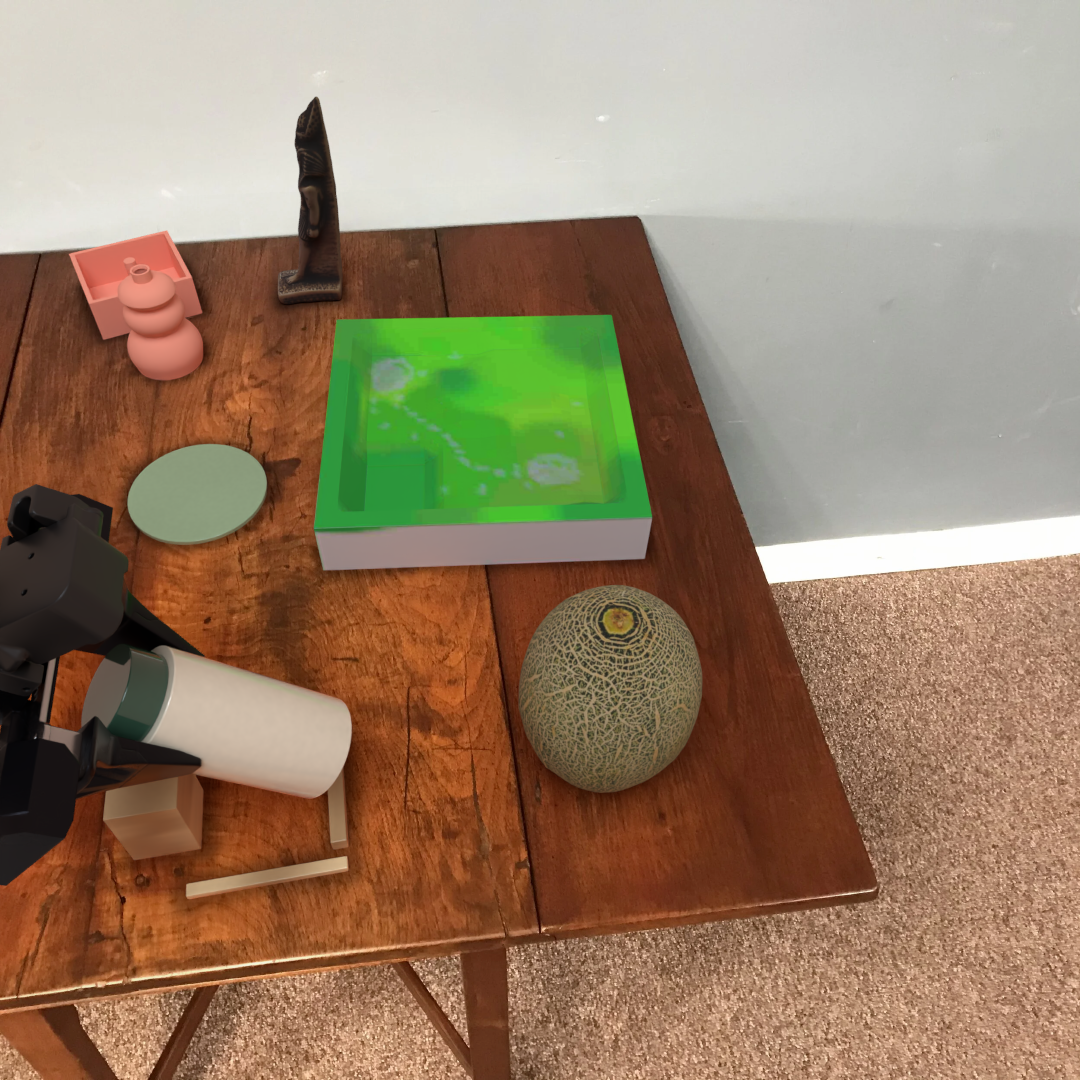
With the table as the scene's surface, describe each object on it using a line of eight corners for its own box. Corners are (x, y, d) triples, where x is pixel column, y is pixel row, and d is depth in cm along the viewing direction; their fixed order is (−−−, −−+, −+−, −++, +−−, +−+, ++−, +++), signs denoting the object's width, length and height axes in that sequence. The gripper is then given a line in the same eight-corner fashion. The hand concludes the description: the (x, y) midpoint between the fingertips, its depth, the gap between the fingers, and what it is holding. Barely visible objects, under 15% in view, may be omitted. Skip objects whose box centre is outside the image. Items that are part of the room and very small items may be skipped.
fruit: (531, 662, 67) (538, 525, 56) (687, 685, 67) (726, 552, 55) (503, 810, 60) (504, 688, 49) (677, 839, 59) (720, 721, 48)
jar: (135, 843, 54) (47, 732, 44) (143, 749, 57) (63, 627, 47) (364, 803, 55) (330, 688, 45) (357, 714, 59) (324, 590, 49)
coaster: (143, 563, 72) (141, 559, 72) (117, 470, 78) (115, 466, 78) (284, 519, 75) (283, 515, 75) (248, 433, 82) (247, 429, 81)
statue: (279, 283, 96) (238, 85, 81) (349, 278, 97) (322, 82, 82) (279, 308, 93) (237, 108, 78) (351, 302, 94) (323, 104, 79)
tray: (606, 358, 90) (611, 314, 86) (644, 559, 74) (652, 517, 70) (343, 363, 88) (336, 319, 84) (323, 571, 72) (313, 528, 68)
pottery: (83, 290, 94) (47, 200, 87) (178, 266, 97) (151, 177, 90) (126, 396, 84) (89, 305, 77) (229, 366, 87) (204, 275, 80)
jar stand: (130, 910, 55) (96, 872, 51) (142, 758, 62) (114, 712, 57) (350, 871, 57) (337, 831, 53) (341, 727, 64) (328, 680, 59)
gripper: (-101, 728, 31) (296, 814, 41) (-4, 365, 42) (286, 502, 53) (-227, 863, 35) (157, 910, 46) (-108, 503, 47) (176, 604, 57)
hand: (199, 713), depth 50 cm, fingers closed on jar, 6 cm apart
